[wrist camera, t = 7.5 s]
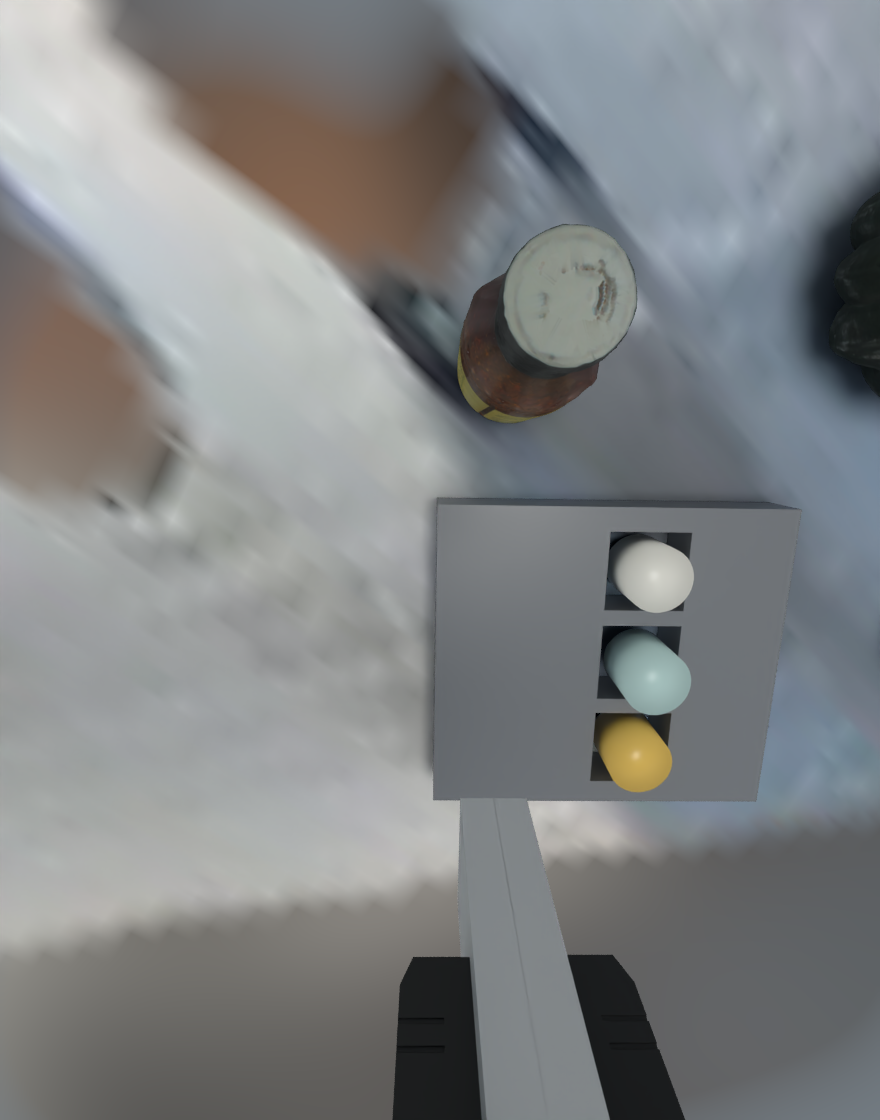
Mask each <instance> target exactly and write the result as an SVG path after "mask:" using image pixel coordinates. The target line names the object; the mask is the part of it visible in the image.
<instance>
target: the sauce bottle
mask: <svg viewBox="0 0 880 1120" xmlns="http://www.w3.org/2000/svg"><path fill="white" fill-rule="evenodd" d="M636 309H637V287H636V280H635V273H634V269H633V267H632V265H631V262H630V260H629V258H628V256H627V254H626V253H625V251H624V250H623V249H622V248H621V247H620V246H619V244H618V243H617V241H616V240H615V239H614V238H613V237H611V236H609V235H608V234H607V233H605V232H604V231H602V230H599V229H597V228H594V227H591V226H587V225H578V224H576V225H569V224H562V225H559V226H556V227H553V228H550V229H548V230H546V231H544V232H542V233H540V234H538V235H537V236H535V237H534V238H532V239H531V240H529V241H528V242H527V243H526V244H525V245H524V246H523V247H522V248H521V250H520V251H519V252H518V253H517V254H516V255H515V257H514V258H513V260H512V262H511V264H510V266H509V268H508V270H507V271H506V273H504V274H503V275H501V276H499V277H497V278H496V279H494V280H492V281H491V282H489V283H487V284H485V285H484V286H482V287H481V288H480V289H479V290H477V292H476V293H475V294H474V296H473V299H472V302H471V305H470V308H469V311H468V313H467V316H466V319H465V320H464V324H463V328H462V332H461V337H460V347H459V355H458V366H457V371H458V381H459V384H460V388H461V391H462V393H463V395H464V397H465V399H466V400H467V402H468V403H469V404H470V406H471V407H472V408H473V409H474V410H475V411H476V412H479V413H480V414H481V415H482V416H484V417H486V418H488V419H490V420H493V421H496V422H502V423H517V422H521V421H525V420H528V419H532V418H536V417H539V416H543V415H547V414H549V413H552V412H554V411H556V410H558V409H560V408H561V407H563V406H565V405H566V404H567V403H568V402H570V401H572V400H574V399H575V398H576V397H578V396H579V395H580V394H581V393H582V392H583V391H584V390H586V389H587V388H588V387H589V386H591V385H592V384H593V383H594V382H595V380H596V379H597V373H598V367H599V362H600V361H602V360H603V359H604V358H605V357H606V356H607V355H608V354H609V353H611V352H612V351H613V350H614V349H615V348H617V346H618V344H619V343H620V342H621V341H622V339H623V338H624V337H625V335H626V334H627V331H628V328H629V326H630V325H631V323H632V320H633V318H634V315H635V312H636Z"/></svg>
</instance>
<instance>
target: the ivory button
mask: <svg viewBox="0 0 880 1120" xmlns="http://www.w3.org/2000/svg"><path fill="white" fill-rule="evenodd" d="M607 577H608V579H609V581H610V582H611V584H612V585H613V586H614V587H615V588H616V589H618V590H619V591H620V592H621V593H622V594H623V595H625V596H626V597H627V598H628V599H629V600H630V601H631V602H633V603H634V604H635V605H636V606H637V607H639V608H640V609H642V610H645V611H647V612H652V613H661V612H666V611H670V610H672V609H674V608H676V607H677V606H679V605H680V604H681V603H682V602H683V601H684V600H685V599H686V598H687V597H688V595H689V593H690V591H691V589H692V586H693V582H694V571H693V567H692V565H691V563H690V561H689V559H688V558H687V557H686V556H685V555H684V554H683V553H682V552H680V551H678V550H677V549H675V548H672V547H670V546H668V545H666V544H664V543H662V542H660V541H658V540H656V539H654V538H652V537H650V536H647V535H643V534H634V535H630V536H627V537H624V538H622V539H621V540H619V541H618V542H617V543H616V544H615V545H614V546H613V547H612V548H611V550H610V551H609V558H608V570H607Z"/></svg>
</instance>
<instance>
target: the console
mask: <svg viewBox="0 0 880 1120" xmlns="http://www.w3.org/2000/svg"><path fill="white" fill-rule="evenodd" d="M801 512H802V510H801V509H797V508H792V507H787V506H783V505H778V504H774V503H769V502H704V501H634V500H564V499H493V498H437V548H436V614H435V680H434V746H433V800H460V798H526V799H527V801H756V800H757V793H758V787H759V780H760V774H761V768H762V761H763V755H764V748H765V742H766V736H767V729H768V723H769V716H770V710H771V704H772V697H773V691H774V684H775V678H776V672H777V665H778V659H779V652H780V646H781V640H782V633H783V627H784V620H785V614H786V608H787V601H788V595H789V588H790V582H791V576H792V569H793V563H794V557H795V550H796V544H797V537H798V531H799V525H800V518H801ZM611 532H668V539H667V545H668V546H670V547H672V548H675V549H677V550H678V551H680V552H682V553H683V554H684V555H685V556H686V557H687V558H688V559H689V561H690V563H691V565H692V567H693V571H694V582H693V586H692V589H691V591H690V593H689V595H688V597H687V598H686V599H685V600H684V601H683V602H682V603H681V604H680V605H679V606H677V607H676V608H674V609H672V610H670V611H666V612H661V613H652V612H647V611H645V610H642V609H640V608H639V607H637V606H636V605H635V604H634V603H633V602H631V601H630V600H629V599H628V598H627V597H626V596H625V595H605V594H606V582H607V570H608V558H609V546H610V534H611ZM603 626H658V634H657V638H659V639H660V640H661V641H662V642H663V643H664V644H665V645H666V646H667V647H668V648H669V649H671V650H672V651H673V652H674V653H675V654H676V655H677V656H678V657H679V658H680V659H681V660H682V661H684V663H685V664H686V665H687V667H688V669H689V671H690V675H691V687H690V691H689V693H688V695H687V697H686V699H685V700H684V701H683V702H682V704H680V705H679V706H678V707H677V708H676V709H674V710H672V711H670V712H668V713H665V714H661V715H649V719H648V721H649V723H650V724H651V725H652V727H653V728H654V729H655V731H656V732H657V733H658V735H659V736H660V737H661V739H662V740H663V741H664V743H665V744H666V745H667V747H668V748H669V750H670V752H671V756H672V767H671V771H670V773H669V775H668V777H667V778H666V779H665V780H664V782H662V783H661V784H660V785H659V786H657V787H656V788H654V789H651V790H649V791H645V792H631V791H627V790H625V789H623V788H621V787H619V786H618V785H617V784H616V783H615V782H614V781H613V779H612V777H611V775H610V773H609V771H608V770H607V768H606V766H605V764H604V762H603V760H602V758H601V756H600V754H599V753H592V751H593V739H594V727H595V715H596V713H641V712H639V711H637V710H636V709H634V708H633V707H632V706H631V705H630V704H629V703H628V701H627V700H626V699H625V697H624V696H623V694H622V693H621V692H620V690H619V689H618V688H617V686H616V685H615V683H614V682H613V681H612V679H611V678H610V676H599V667H600V655H601V643H602V631H603Z"/></svg>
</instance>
